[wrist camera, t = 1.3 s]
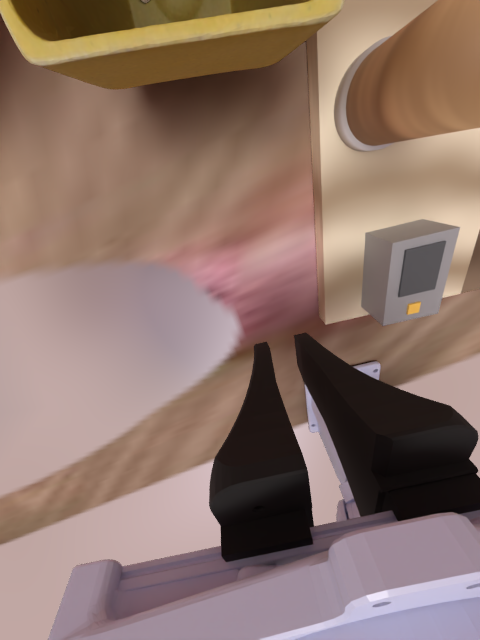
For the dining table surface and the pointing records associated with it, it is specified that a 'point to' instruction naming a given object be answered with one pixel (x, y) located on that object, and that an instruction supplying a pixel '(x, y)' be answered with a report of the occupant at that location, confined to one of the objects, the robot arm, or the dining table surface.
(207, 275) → the dining table surface
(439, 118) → the brown cylinder
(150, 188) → the dining table surface
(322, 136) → the board
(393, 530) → the robot arm
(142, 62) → the flower pot
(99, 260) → the dining table surface
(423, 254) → the box
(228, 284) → the dining table surface
